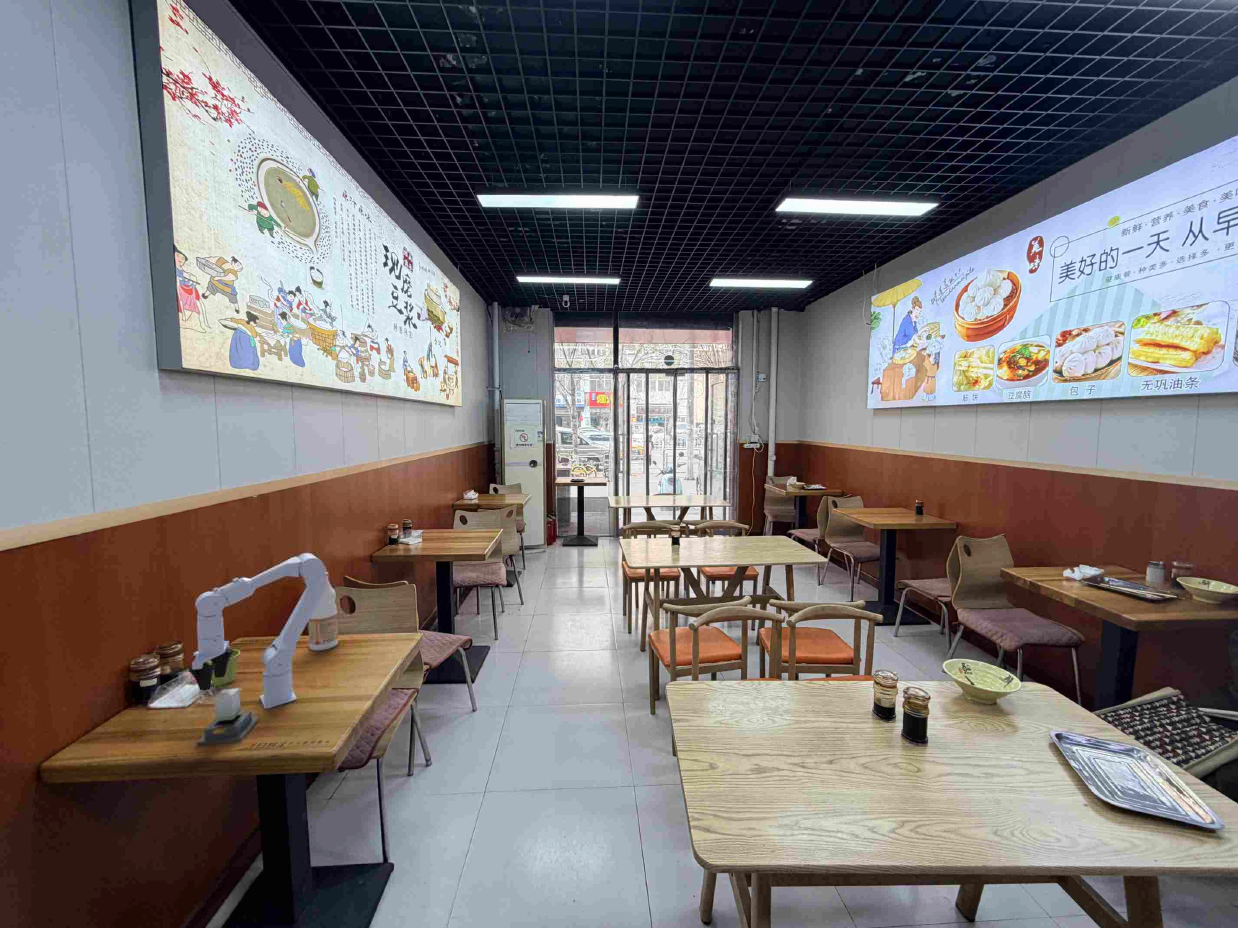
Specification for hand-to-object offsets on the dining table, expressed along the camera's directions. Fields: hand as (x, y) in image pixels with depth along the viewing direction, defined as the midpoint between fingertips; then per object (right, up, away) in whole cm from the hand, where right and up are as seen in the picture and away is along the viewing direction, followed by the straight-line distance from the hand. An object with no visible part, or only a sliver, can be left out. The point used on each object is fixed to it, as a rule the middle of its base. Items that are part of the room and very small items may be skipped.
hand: (212, 683), depth 144 cm
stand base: (+9, -11, -6) cm, 15 cm away
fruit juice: (+2, -8, +50) cm, 51 cm away
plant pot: (-14, -9, +23) cm, 28 cm away
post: (+9, -6, -6) cm, 13 cm away
